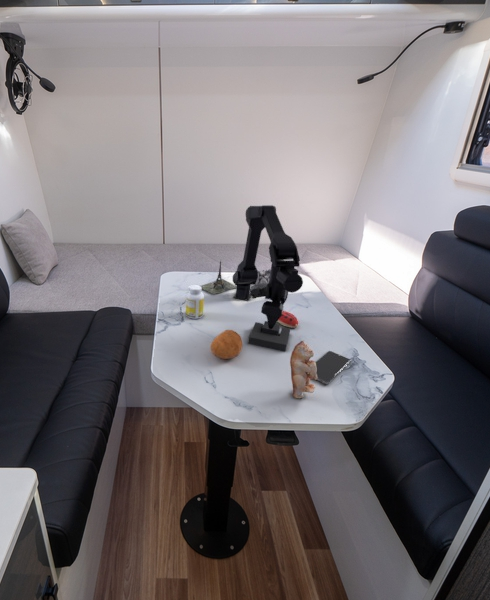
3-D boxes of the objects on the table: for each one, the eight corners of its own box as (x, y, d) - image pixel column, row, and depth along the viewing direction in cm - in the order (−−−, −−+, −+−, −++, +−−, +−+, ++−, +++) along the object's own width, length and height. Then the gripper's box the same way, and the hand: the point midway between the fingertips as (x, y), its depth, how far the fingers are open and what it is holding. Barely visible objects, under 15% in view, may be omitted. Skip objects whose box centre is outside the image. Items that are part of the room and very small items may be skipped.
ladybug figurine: (283, 315, 142) (285, 307, 140) (303, 326, 134) (305, 318, 132) (270, 319, 138) (271, 310, 137) (289, 331, 131) (291, 322, 129)
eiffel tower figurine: (222, 280, 172) (224, 252, 166) (238, 287, 165) (241, 258, 159) (197, 287, 164) (199, 258, 158) (213, 295, 157) (215, 265, 151)
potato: (248, 354, 117) (251, 334, 114) (225, 368, 110) (227, 347, 107) (226, 342, 123) (227, 323, 120) (203, 355, 116) (204, 335, 113)
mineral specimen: (266, 288, 155) (267, 264, 157) (246, 289, 161) (247, 267, 163) (279, 293, 164) (280, 271, 166) (260, 294, 170) (261, 273, 172)
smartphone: (303, 371, 108) (329, 349, 118) (303, 374, 109) (328, 352, 119) (328, 383, 103) (352, 359, 113) (327, 386, 104) (351, 362, 114)
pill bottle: (203, 312, 143) (204, 284, 138) (202, 320, 137) (204, 291, 132) (186, 310, 143) (187, 283, 138) (184, 318, 138) (185, 290, 133)
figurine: (310, 405, 97) (320, 357, 90) (281, 394, 100) (289, 347, 94) (315, 392, 102) (326, 345, 95) (288, 382, 105) (296, 336, 99)
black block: (263, 330, 131) (265, 320, 129) (278, 333, 129) (280, 323, 127) (260, 338, 126) (262, 327, 125) (276, 341, 125) (278, 330, 123)
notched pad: (254, 328, 132) (255, 322, 131) (289, 335, 128) (290, 328, 127) (248, 343, 123) (248, 337, 122) (285, 351, 119) (286, 344, 118)
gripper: (259, 266, 129) (254, 306, 136) (247, 286, 113) (242, 330, 120) (292, 271, 125) (285, 312, 132) (284, 292, 110) (277, 337, 116)
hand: (272, 322), depth 125 cm, fingers open, 9 cm apart
